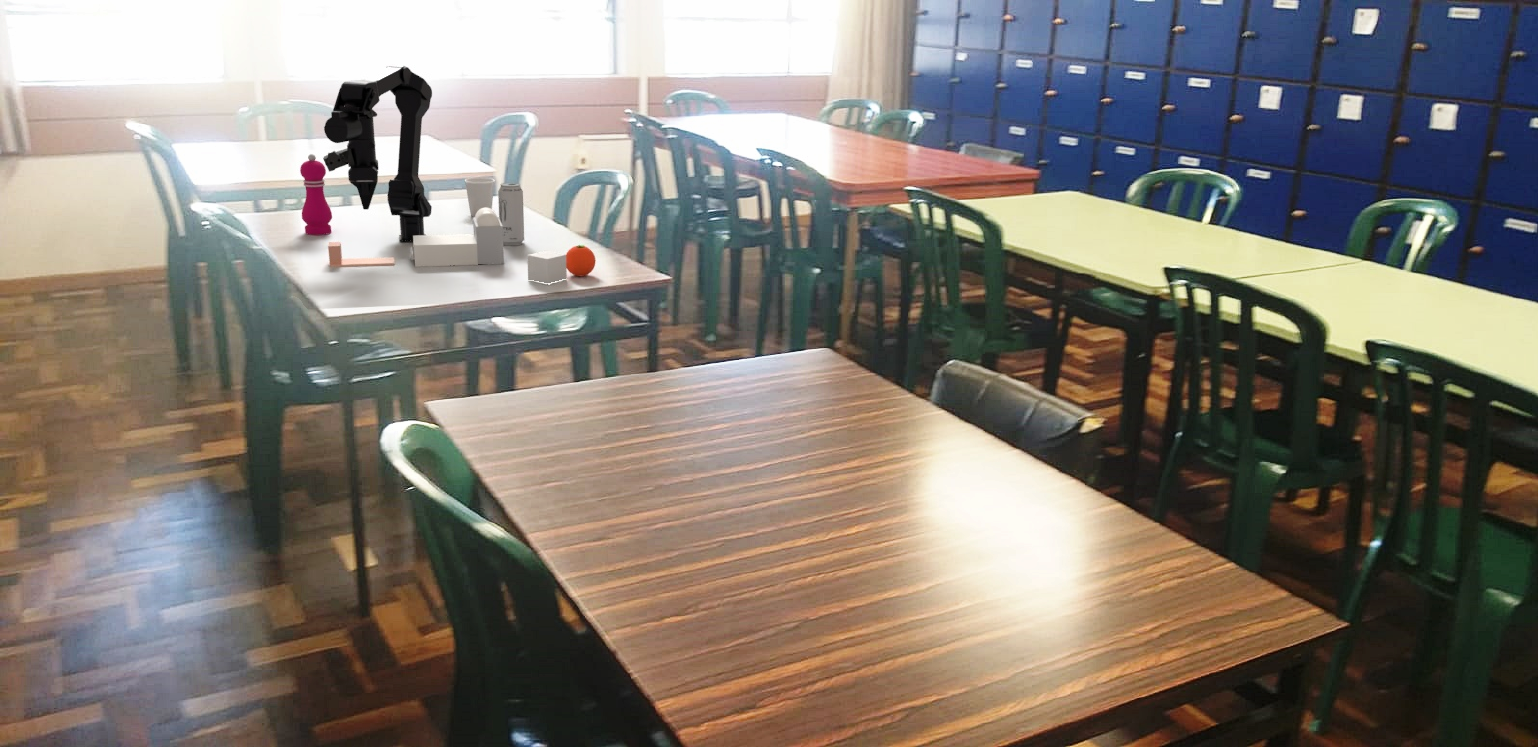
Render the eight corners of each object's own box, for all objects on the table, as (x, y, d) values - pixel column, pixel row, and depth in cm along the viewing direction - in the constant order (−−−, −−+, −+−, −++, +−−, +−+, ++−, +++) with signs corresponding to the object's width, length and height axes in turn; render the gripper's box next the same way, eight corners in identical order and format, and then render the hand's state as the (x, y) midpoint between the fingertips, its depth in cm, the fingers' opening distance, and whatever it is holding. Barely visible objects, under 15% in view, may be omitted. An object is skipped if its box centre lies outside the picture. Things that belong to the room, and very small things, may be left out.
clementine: (569, 270, 267) (568, 240, 265) (598, 272, 267) (598, 241, 265) (562, 278, 259) (561, 247, 257) (592, 280, 259) (592, 249, 257)
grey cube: (548, 285, 253) (547, 259, 251) (528, 281, 256) (527, 255, 254) (566, 280, 258) (566, 254, 256) (547, 276, 261) (546, 250, 259)
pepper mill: (296, 233, 293) (289, 154, 287) (317, 229, 300) (310, 151, 294) (319, 236, 291) (312, 157, 285) (339, 232, 297) (333, 153, 291)
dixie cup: (492, 218, 322) (490, 182, 319) (462, 217, 322) (460, 181, 319) (499, 213, 330) (498, 178, 327) (470, 211, 330) (468, 176, 327)
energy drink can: (495, 243, 292) (493, 183, 287) (515, 240, 296) (513, 181, 291) (509, 247, 288) (507, 187, 283) (529, 244, 292) (527, 185, 287)
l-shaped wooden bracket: (331, 262, 267) (329, 241, 265) (394, 260, 271) (392, 239, 269) (329, 268, 262) (328, 247, 260) (394, 266, 266) (393, 245, 264)
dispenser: (410, 256, 274) (407, 208, 271) (500, 253, 280) (498, 206, 277) (411, 266, 264) (408, 217, 261) (504, 264, 271) (502, 215, 267)
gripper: (326, 133, 270) (331, 199, 275) (321, 143, 254) (327, 213, 258) (376, 133, 274) (380, 198, 279) (375, 143, 257) (379, 213, 262)
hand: (366, 205), depth 269 cm, fingers open, 9 cm apart
